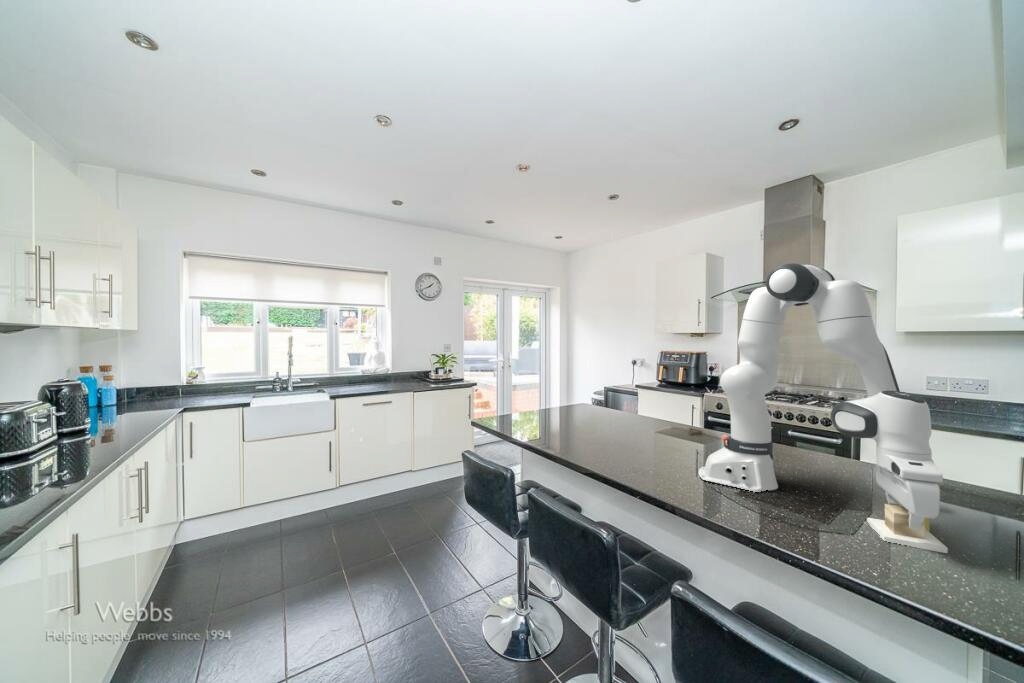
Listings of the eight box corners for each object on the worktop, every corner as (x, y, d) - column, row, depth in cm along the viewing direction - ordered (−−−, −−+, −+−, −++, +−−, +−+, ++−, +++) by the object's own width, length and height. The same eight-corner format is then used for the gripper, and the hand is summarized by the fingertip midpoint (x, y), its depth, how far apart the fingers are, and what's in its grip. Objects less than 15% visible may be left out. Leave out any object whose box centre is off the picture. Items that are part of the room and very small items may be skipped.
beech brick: (894, 533, 84) (893, 512, 84) (884, 524, 88) (884, 503, 88) (924, 539, 81) (924, 517, 81) (913, 529, 86) (913, 508, 85)
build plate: (884, 541, 82) (884, 536, 82) (867, 522, 91) (866, 517, 91) (947, 553, 78) (947, 547, 78) (922, 531, 87) (922, 526, 87)
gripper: (867, 447, 95) (867, 499, 95) (905, 473, 77) (906, 537, 77) (900, 450, 92) (901, 504, 92) (948, 478, 74) (948, 544, 74)
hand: (903, 519), depth 85 cm, fingers open, 8 cm apart
